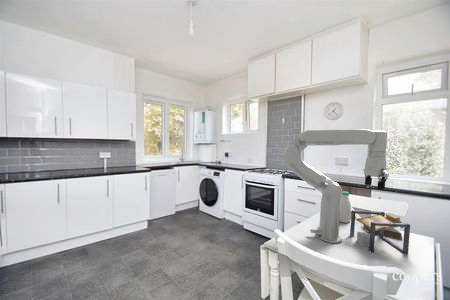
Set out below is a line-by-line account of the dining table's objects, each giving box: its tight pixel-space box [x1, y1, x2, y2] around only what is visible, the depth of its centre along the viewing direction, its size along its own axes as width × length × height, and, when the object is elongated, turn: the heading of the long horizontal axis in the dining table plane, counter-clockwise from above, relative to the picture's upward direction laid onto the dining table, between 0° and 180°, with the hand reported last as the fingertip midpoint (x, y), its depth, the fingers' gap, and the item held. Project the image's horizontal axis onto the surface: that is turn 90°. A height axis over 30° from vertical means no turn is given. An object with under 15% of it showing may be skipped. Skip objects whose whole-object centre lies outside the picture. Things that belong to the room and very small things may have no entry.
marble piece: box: [362, 224, 403, 240], centre depth 120 cm, size 17×15×4 cm
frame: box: [349, 209, 411, 255], centre depth 104 cm, size 17×17×14 cm
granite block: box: [356, 231, 370, 246], centre depth 104 cm, size 5×5×5 cm
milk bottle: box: [339, 190, 352, 224], centre depth 134 cm, size 8×8×20 cm
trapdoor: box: [356, 212, 403, 231], centre depth 104 cm, size 16×13×3 cm
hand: (374, 187), depth 104 cm, fingers open, 9 cm apart
